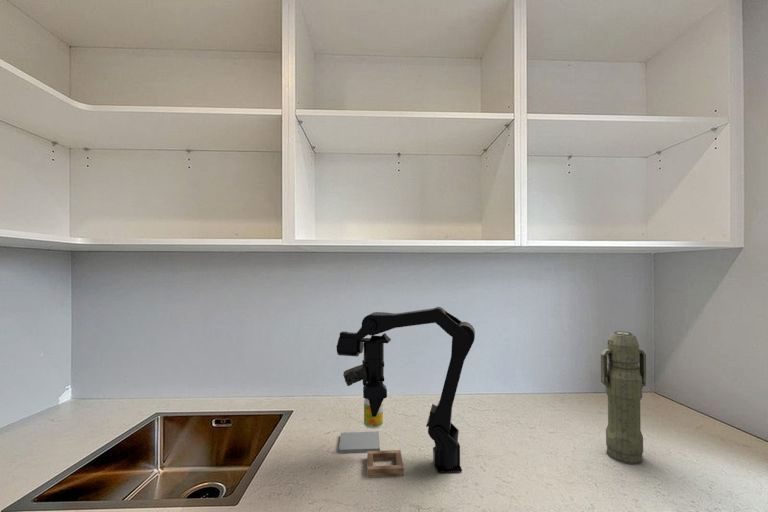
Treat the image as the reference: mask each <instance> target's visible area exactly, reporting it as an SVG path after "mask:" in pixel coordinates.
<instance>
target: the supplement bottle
mask: <svg viewBox="0 0 768 512" xmlns="http://www.w3.org/2000/svg"><path fill="white" fill-rule="evenodd" d="M363 424H364V427H366V428H368V429H379V428H381V427H382V426H383V424H384V401H383V402H382V404H381V406H380V408H379V411H378V413H377V415H376V417H372V414H371V408H370V403H369V400H368V399H365V398H364V400H363Z"/></svg>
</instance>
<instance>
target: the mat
mask: <svg viewBox="0 0 768 512" xmlns="http://www.w3.org/2000/svg"><path fill="white" fill-rule="evenodd" d="M379 433H380V432H379V431H353V432H352V431H351V432H349V431H347V432H340V439H339V445H338V454H350V453H351V454H352V453H353V454H354V453H355V454H356V453H367V451H381V447H380V443H381V442H380V434H379Z"/></svg>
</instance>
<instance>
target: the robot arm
mask: <svg viewBox="0 0 768 512" xmlns="http://www.w3.org/2000/svg"><path fill="white" fill-rule="evenodd" d="M428 324H429V325H430V324H436V325H437V326H439V328H441V329H442V330H443V331H445V333H446V334H448V335H449V336H450V337H451V352H450V353H451V354H450V359H449V360H450V361H449V364H448V368H447V371H446V375H445V380H444V383H443V386H442V390H441V394H440V399H439V402H438V403H437V405H435V404H434V403H432V405H431V407H430V411H429V416H428V419H427V421H426V425H425V426H426V428H427V434H428V436H429V437H430V439H431V440H433V442H434V446H433V447H432V463H433V465H434V467H435V469H436V470H437V471H436V472H437V473H441V474H442V473H462V472H463V469H462V466H461V445H460V443H459V433H460V430H459V429H458V428H457V427H456V426H455V425H454V424H453V423H452V417H453V415H452V414H453V404H454V400H455V398H456V397H455V396H456V393H457V389H458V385H459V383H460V378H461V374H462V370H463V367H464V362H465V360H466V358H467V355H469V352H470V351H471V348H472V346H473V344H474V342H475V336H476V334H475V333H476V331H475V328H474V326H473V325H472V324H471V323H469V322H468V321H462V320H460V319H459V318H458V317H456V316H454V315H453V314H451V313H450V312H448V311H446V310H445V308H443V307H441V306H436V307H434V308H426V309H419V310H412V311H405V312H398V313H397V312H395V313H393V312H392V313H391V312H385V311H383V312H382V311H375V312H374V311H373V312H371V313H369V314H368V315H366V316H364V317H363V319H362V321H361V327H360V328H359V329H358V331H356V332H351V331H350V332H348V331H341V332H339V337H338V340H337V344H336V354H337V355H338V356H344V357H345V356H346V357H357V358H358V357H359V356H360V354H362V353H363V360H361V361H362V364H359V365H356V366H353V367H352V368H351V367H350V368H349V369H346V370H344V371H343V377H344V382H345V383H346V386H347V387H350V386H352V385H354V384H356V383H358V382H361V381H362V385H363V386H362V389H363V390H362V394H363V395H362V397H363V399H364V400H365V399H368V400H369V403H370V408H371V414H372V417H376V415H377V413H378V411H379V408H380V406H381V404H382V402H383V403H384V399H387V398H388V390H387V385H385V384H384V382H385V376H384V372H385V370H384V369H385V359H384V358H385V353H384V352H385V351H384V349H385V345H384V344H389V343H390V342H391V340H392V339H391V337H389V336H388V335H387V333H386V332H388V331H390V330H393V329H398V328H404V327H412V326H421V325H428ZM384 332H385V333H384ZM382 333H383V334H382ZM379 334H382V335H379ZM367 336H370V337H367Z"/></svg>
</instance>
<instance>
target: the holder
mask: <svg viewBox="0 0 768 512" xmlns="http://www.w3.org/2000/svg"><path fill="white" fill-rule="evenodd" d="M366 454H367V457H366V458H367V460H366V461H367V462H366V463H367V464H366V465H367V478H381V477H404V476H405V473H404V472H405V467H404V462H403V457H402V451H401V449H396V450H395V449H394V450H393V449H391V450H389V449H388V450H380V451H367V452H366ZM375 461H376V462H377V461H379V462H380V461H381V462H382V461H395V464H394V465H374V462H375Z"/></svg>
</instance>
